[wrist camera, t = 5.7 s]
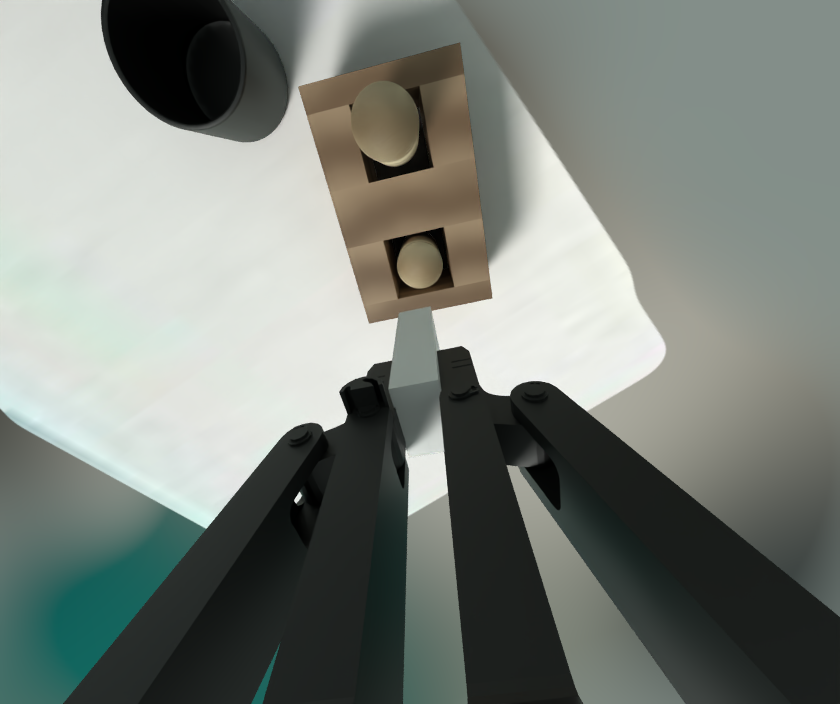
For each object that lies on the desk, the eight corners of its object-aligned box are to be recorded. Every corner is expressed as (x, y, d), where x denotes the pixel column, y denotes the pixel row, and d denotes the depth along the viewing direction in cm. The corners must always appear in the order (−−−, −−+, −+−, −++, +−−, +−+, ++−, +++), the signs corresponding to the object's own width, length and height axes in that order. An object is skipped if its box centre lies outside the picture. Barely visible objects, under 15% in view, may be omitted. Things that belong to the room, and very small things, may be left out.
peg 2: (397, 235, 37) (392, 248, 30) (434, 226, 37) (438, 237, 29) (405, 272, 39) (403, 292, 32) (441, 264, 38) (446, 283, 31)
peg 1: (362, 115, 27) (341, 91, 20) (412, 102, 27) (410, 72, 19) (375, 172, 29) (361, 169, 21) (423, 160, 28) (425, 153, 21)
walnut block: (324, 107, 32) (298, 86, 25) (450, 74, 31) (460, 42, 24) (377, 298, 41) (369, 323, 34) (478, 277, 40) (492, 298, 32)
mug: (182, -46, 28) (86, -139, 20) (309, 76, 31) (271, 39, 23) (137, 66, 31) (38, 25, 23) (257, 165, 35) (208, 160, 26)
